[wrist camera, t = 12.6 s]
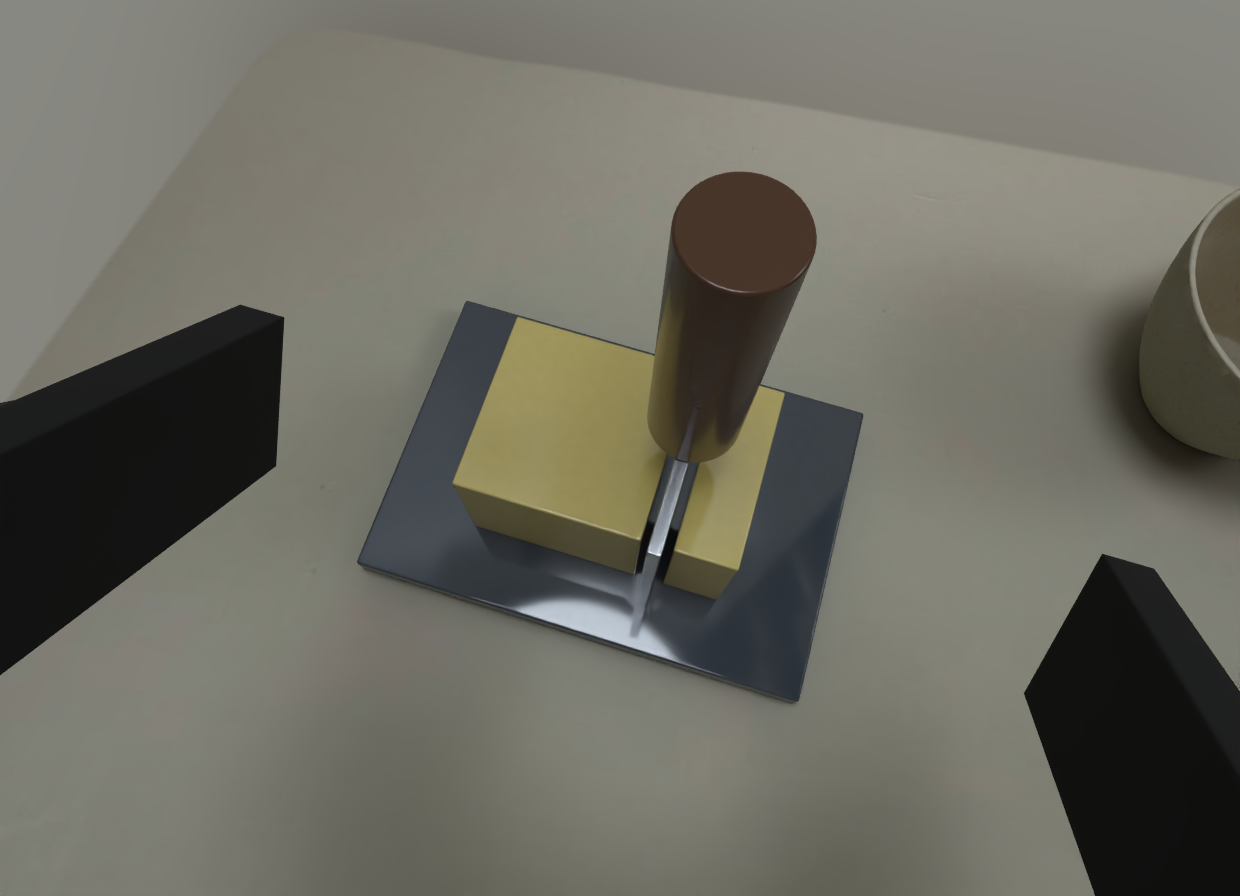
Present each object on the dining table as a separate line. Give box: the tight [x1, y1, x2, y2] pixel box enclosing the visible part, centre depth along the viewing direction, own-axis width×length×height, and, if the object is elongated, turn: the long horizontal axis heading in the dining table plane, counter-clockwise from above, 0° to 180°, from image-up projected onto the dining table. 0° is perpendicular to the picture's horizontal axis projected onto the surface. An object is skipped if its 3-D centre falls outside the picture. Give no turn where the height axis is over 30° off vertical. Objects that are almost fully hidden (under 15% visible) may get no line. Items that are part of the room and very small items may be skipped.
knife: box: [636, 172, 817, 608], centre depth 23 cm, size 3×8×17 cm, turn 163°
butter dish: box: [357, 301, 863, 703], centre depth 30 cm, size 16×11×6 cm
